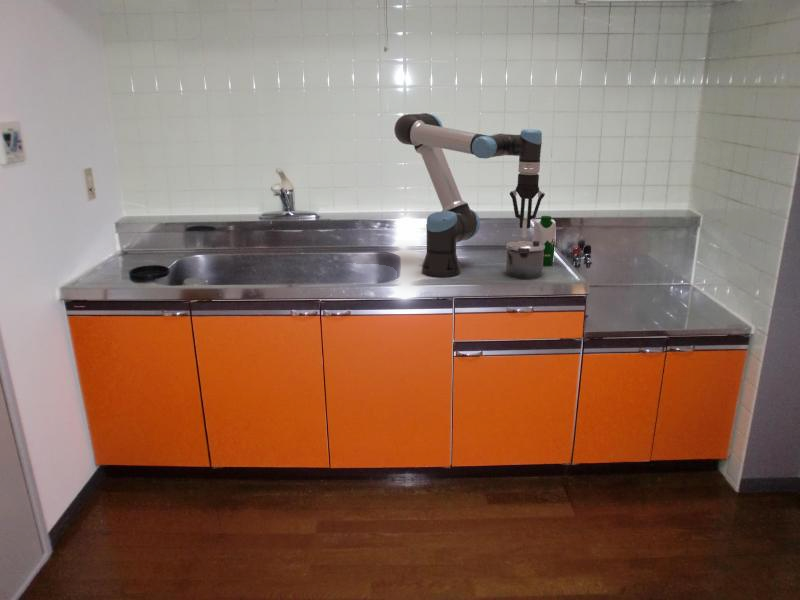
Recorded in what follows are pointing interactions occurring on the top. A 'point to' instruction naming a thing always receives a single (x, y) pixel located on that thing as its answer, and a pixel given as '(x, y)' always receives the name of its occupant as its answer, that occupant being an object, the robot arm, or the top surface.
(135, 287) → the top surface
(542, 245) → the cooker lid
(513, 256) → the cooker pot
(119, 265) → the top surface
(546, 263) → the milk carton
